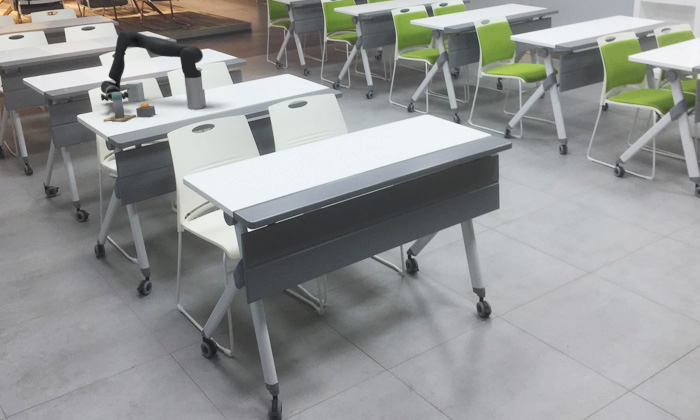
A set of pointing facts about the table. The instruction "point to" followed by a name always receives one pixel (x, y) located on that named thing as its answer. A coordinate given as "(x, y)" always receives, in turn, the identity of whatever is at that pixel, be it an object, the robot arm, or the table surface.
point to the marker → (118, 104)
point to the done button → (144, 105)
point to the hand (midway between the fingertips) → (115, 98)
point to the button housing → (145, 111)
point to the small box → (135, 91)
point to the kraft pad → (124, 119)
